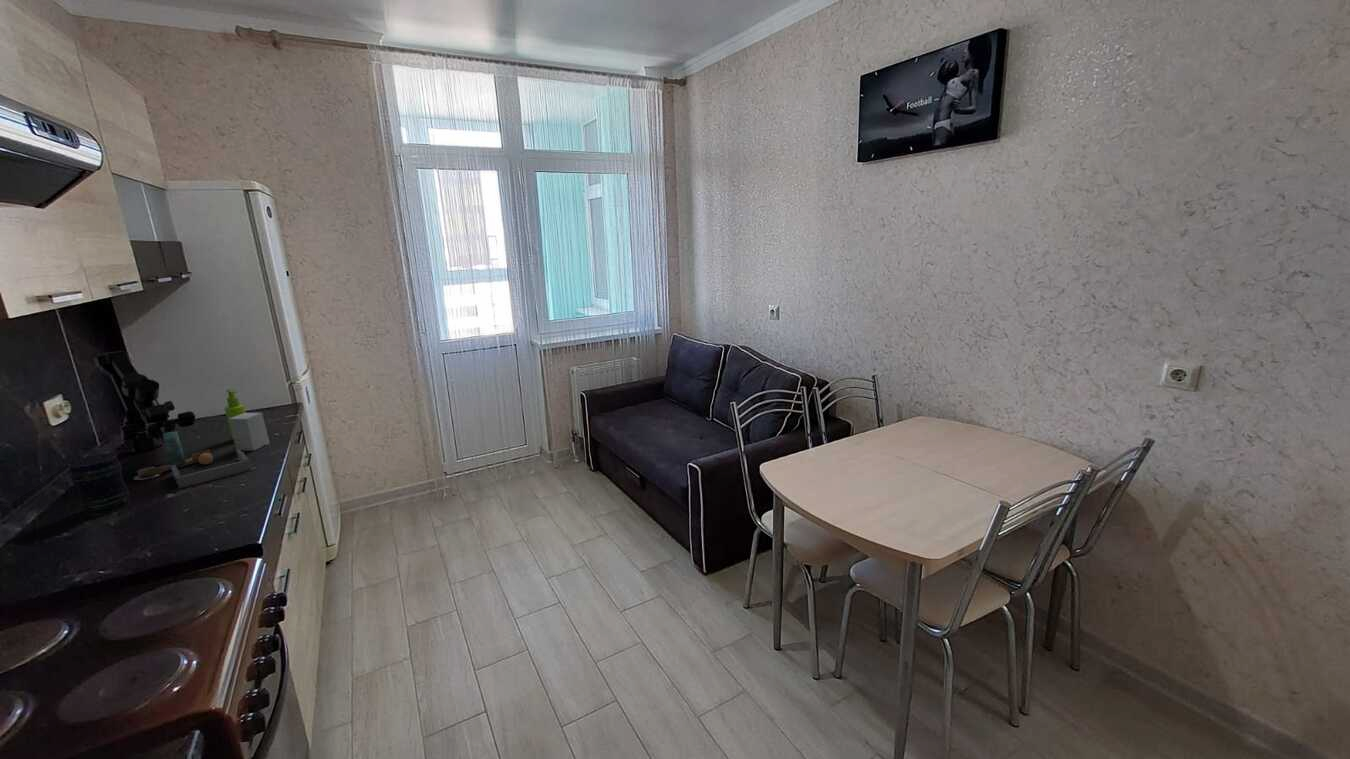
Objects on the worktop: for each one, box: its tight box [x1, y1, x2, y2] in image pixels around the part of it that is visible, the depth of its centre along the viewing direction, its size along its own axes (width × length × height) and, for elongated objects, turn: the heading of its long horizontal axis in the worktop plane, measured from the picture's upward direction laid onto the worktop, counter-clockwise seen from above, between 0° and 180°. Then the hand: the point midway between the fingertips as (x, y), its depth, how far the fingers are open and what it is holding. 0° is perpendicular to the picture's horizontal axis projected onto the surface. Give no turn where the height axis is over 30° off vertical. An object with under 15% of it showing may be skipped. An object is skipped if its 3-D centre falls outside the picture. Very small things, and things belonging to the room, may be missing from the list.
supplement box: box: [227, 412, 270, 452], centre depth 199 cm, size 7×7×13 cm
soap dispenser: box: [224, 388, 247, 440], centre depth 207 cm, size 6×7×20 cm
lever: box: [136, 430, 214, 478], centre depth 182 cm, size 19×4×12 cm, turn 148°
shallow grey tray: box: [170, 450, 253, 489], centre depth 178 cm, size 15×18×4 cm
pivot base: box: [133, 472, 164, 481], centre depth 177 cm, size 7×7×1 cm
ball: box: [198, 452, 214, 465], centre depth 186 cm, size 4×4×4 cm
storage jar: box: [67, 452, 132, 516], centre depth 155 cm, size 10×10×15 cm
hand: (170, 444), depth 184 cm, fingers closed
